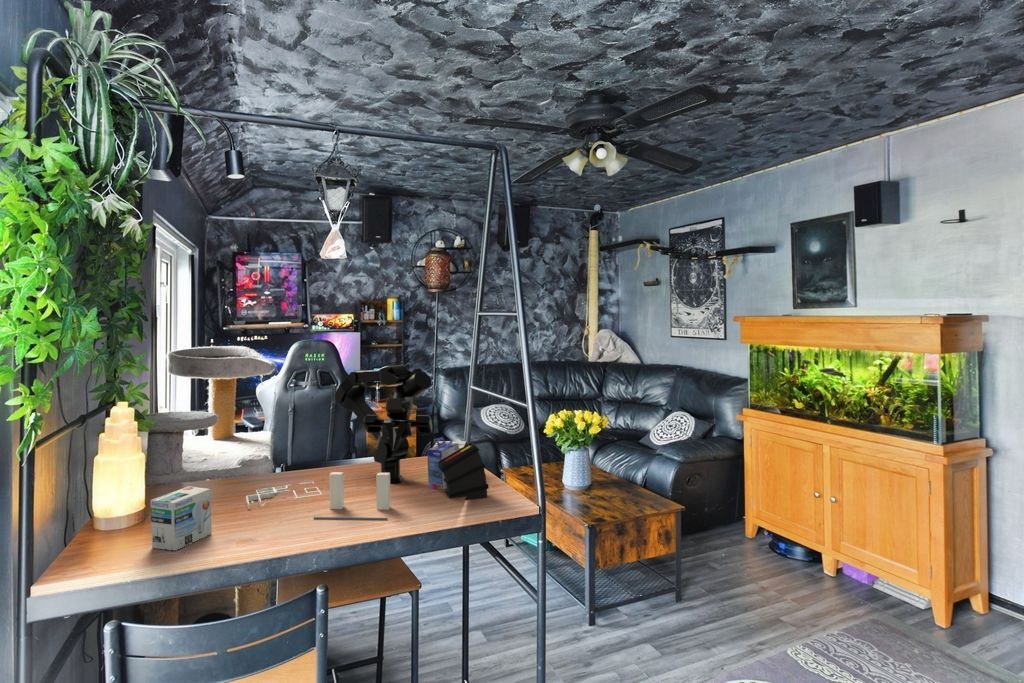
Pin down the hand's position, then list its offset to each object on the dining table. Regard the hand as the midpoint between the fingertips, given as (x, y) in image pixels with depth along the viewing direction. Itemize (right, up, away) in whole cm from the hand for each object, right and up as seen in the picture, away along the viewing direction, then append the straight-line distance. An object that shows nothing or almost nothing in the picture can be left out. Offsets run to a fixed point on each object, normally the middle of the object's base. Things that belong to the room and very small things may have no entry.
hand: (393, 450), depth 157 cm
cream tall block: (-12, -13, -9) cm, 20 cm away
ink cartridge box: (+13, -13, +11) cm, 21 cm away
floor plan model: (-29, -14, 0) cm, 33 cm away
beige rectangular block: (0, -13, -10) cm, 16 cm away
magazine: (+19, -14, +1) cm, 23 cm away
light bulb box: (-42, -15, -27) cm, 52 cm away
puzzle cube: (+13, -13, +22) cm, 29 cm away
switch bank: (-7, -14, -12) cm, 19 cm away
